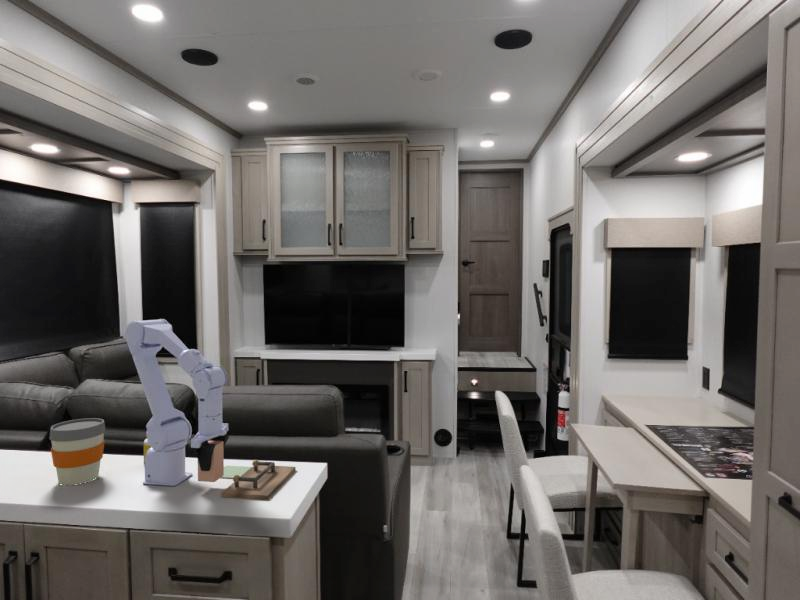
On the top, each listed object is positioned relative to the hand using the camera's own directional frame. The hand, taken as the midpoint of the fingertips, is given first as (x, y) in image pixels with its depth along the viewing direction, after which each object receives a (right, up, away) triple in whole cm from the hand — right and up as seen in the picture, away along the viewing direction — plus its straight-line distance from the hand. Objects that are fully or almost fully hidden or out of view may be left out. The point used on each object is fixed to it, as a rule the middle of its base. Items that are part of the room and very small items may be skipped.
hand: (210, 466), depth 122 cm
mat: (+2, -6, +11) cm, 12 cm away
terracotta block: (0, -3, 0) cm, 3 cm away
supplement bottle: (-24, -6, +18) cm, 30 cm away
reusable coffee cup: (-38, -6, +7) cm, 39 cm away
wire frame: (+12, -6, +4) cm, 14 cm away
